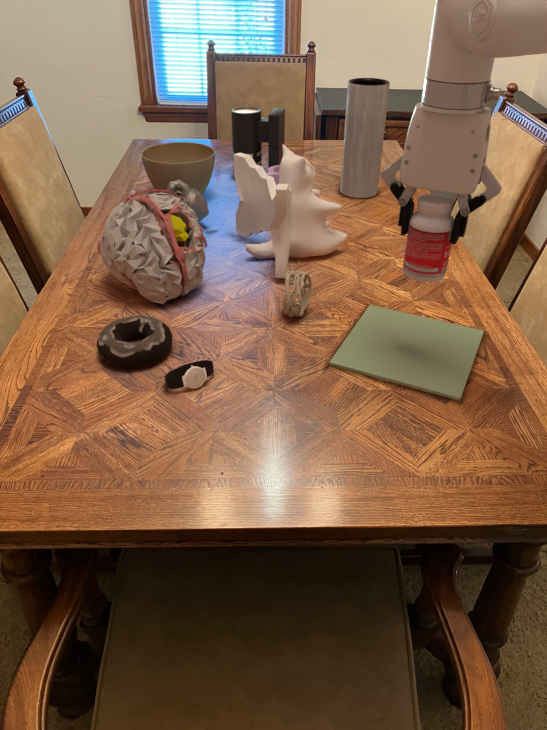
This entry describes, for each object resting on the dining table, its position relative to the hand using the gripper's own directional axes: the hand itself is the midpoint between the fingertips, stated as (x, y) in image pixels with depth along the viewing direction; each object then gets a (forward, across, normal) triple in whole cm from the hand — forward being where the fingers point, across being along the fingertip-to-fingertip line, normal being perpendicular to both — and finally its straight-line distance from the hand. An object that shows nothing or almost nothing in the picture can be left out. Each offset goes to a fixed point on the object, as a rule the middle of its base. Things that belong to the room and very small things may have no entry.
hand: (430, 235), depth 79 cm
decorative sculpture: (+20, +50, -2) cm, 54 cm away
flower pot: (+20, +71, -44) cm, 86 cm away
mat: (+20, 0, -2) cm, 20 cm away
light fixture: (+20, +62, -69) cm, 95 cm away
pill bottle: (+6, 0, 0) cm, 6 cm away
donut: (+20, +40, +18) cm, 48 cm away
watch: (+20, +28, +21) cm, 40 cm away
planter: (+20, +32, -70) cm, 80 cm away
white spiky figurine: (+20, +32, -27) cm, 47 cm away
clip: (+20, +47, -52) cm, 73 cm away
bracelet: (+20, +22, -4) cm, 30 cm away
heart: (+20, +59, -29) cm, 69 cm away
